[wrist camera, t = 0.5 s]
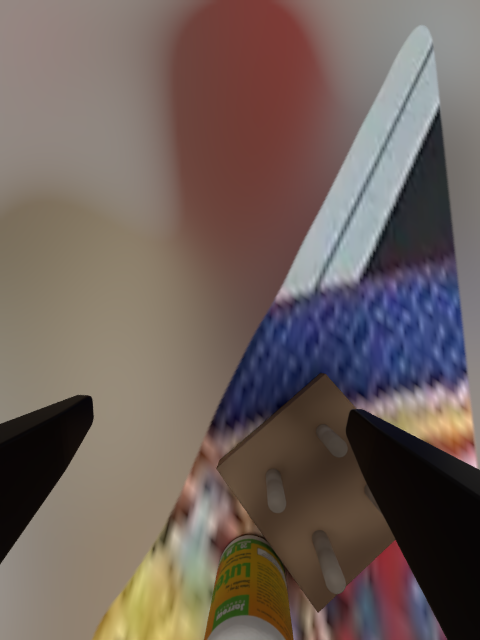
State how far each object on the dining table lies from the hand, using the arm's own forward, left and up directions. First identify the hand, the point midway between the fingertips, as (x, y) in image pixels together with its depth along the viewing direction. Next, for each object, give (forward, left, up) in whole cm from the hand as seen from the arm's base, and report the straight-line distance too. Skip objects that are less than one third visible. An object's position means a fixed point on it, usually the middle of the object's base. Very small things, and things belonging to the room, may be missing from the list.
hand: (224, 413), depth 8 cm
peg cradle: (-10, 0, -14) cm, 17 cm away
